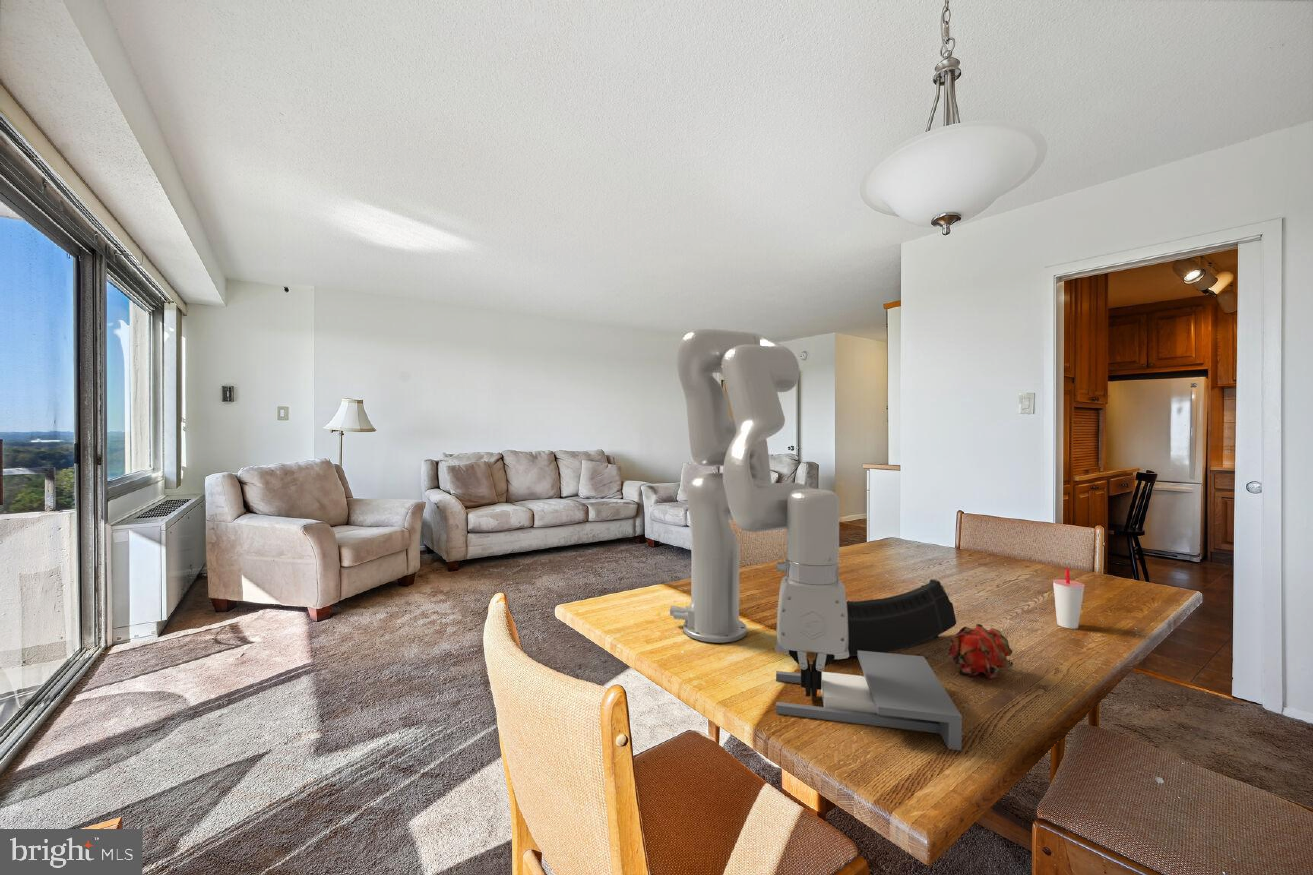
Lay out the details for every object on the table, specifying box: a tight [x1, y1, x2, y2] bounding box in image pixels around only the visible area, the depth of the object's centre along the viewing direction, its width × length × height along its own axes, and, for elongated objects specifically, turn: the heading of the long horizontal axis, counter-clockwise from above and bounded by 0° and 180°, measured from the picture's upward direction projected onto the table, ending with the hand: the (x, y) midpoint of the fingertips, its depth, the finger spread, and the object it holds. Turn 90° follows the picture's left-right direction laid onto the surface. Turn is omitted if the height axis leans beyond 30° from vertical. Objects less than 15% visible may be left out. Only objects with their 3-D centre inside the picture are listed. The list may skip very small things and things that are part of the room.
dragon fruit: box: [948, 623, 1014, 680], centre depth 89 cm, size 8×8×12 cm
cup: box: [1052, 568, 1086, 630], centre depth 110 cm, size 5×5×12 cm
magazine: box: [847, 579, 957, 658], centre depth 99 cm, size 18×3×31 cm
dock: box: [775, 650, 963, 751], centre depth 79 cm, size 23×18×4 cm
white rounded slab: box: [820, 671, 878, 714], centre depth 79 cm, size 11×8×2 cm
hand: (810, 692), depth 80 cm, fingers closed
